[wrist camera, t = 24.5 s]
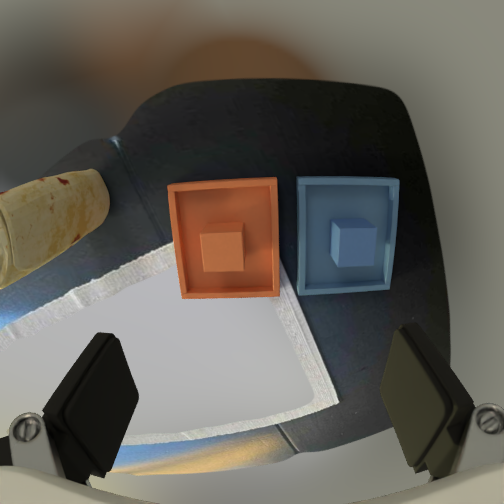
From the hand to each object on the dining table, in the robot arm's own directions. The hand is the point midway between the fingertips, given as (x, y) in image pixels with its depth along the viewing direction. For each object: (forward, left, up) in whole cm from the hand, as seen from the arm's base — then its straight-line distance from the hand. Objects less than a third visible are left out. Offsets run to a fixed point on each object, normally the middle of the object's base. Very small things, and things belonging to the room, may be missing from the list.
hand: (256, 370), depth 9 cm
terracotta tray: (+4, -4, -28) cm, 29 cm away
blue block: (+4, +11, -28) cm, 30 cm away
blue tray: (+4, +11, -28) cm, 31 cm away
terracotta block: (+4, -4, -28) cm, 28 cm away
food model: (-2, -22, -28) cm, 36 cm away
